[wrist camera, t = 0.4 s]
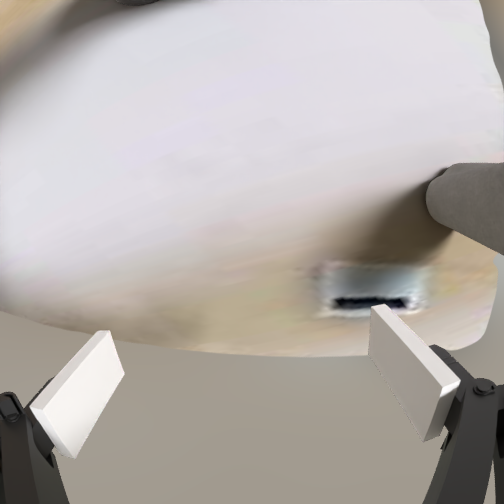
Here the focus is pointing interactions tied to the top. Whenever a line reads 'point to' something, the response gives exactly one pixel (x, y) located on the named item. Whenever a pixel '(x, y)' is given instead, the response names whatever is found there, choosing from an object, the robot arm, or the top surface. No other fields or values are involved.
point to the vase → (471, 202)
